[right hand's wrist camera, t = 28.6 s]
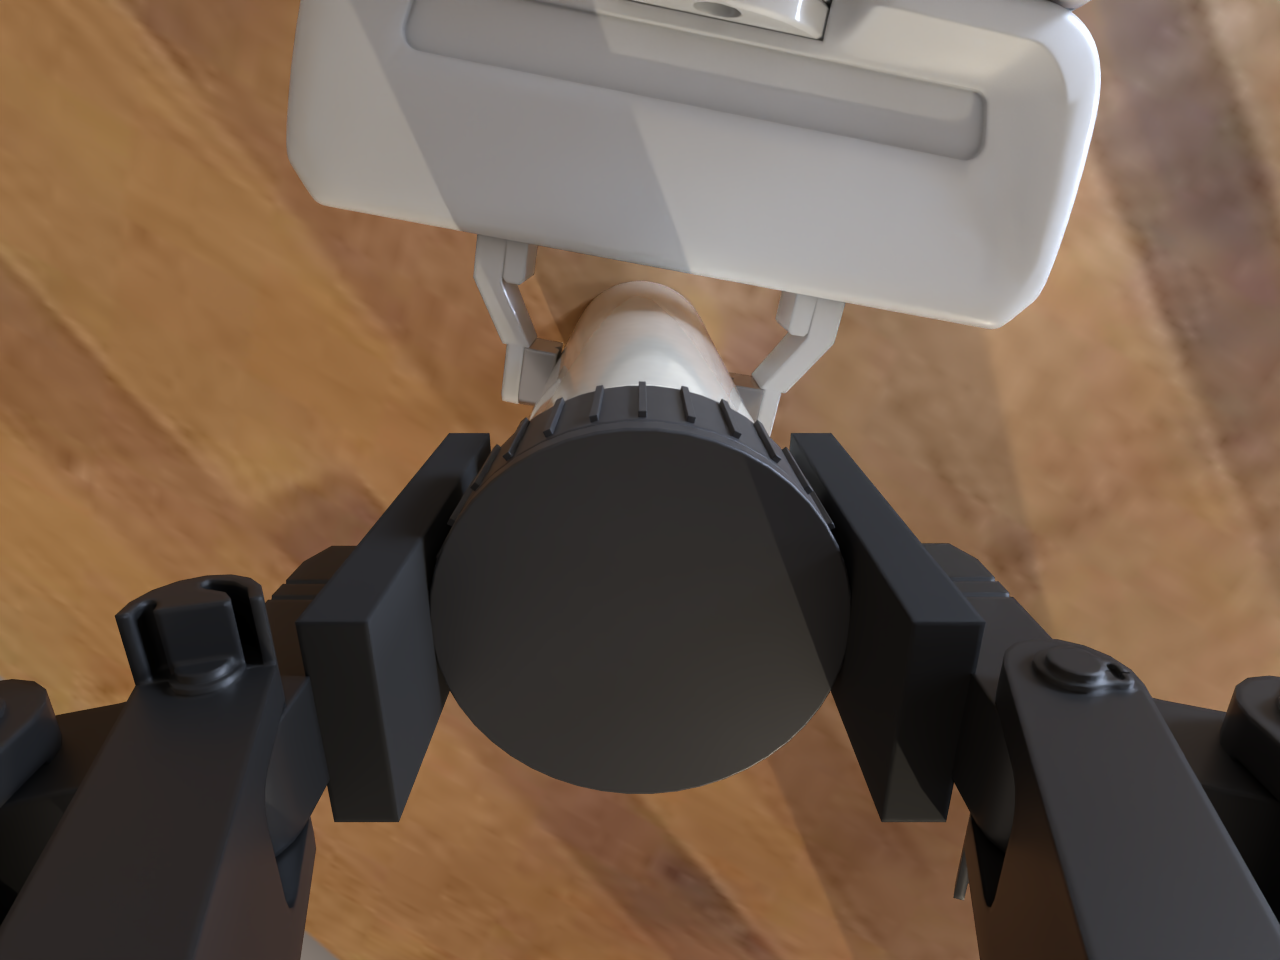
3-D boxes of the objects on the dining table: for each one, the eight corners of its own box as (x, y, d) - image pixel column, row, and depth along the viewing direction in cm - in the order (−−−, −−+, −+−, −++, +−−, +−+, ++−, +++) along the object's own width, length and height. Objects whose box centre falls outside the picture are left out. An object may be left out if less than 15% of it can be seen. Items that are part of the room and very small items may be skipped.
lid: (594, 753, 13) (586, 856, 11) (386, 508, 12) (329, 576, 10) (881, 599, 12) (931, 682, 10) (696, 301, 10) (711, 327, 8)
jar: (546, 362, 28) (400, 614, 11) (627, 251, 27) (604, 343, 10) (651, 440, 30) (668, 778, 12) (735, 338, 28) (888, 558, 11)
